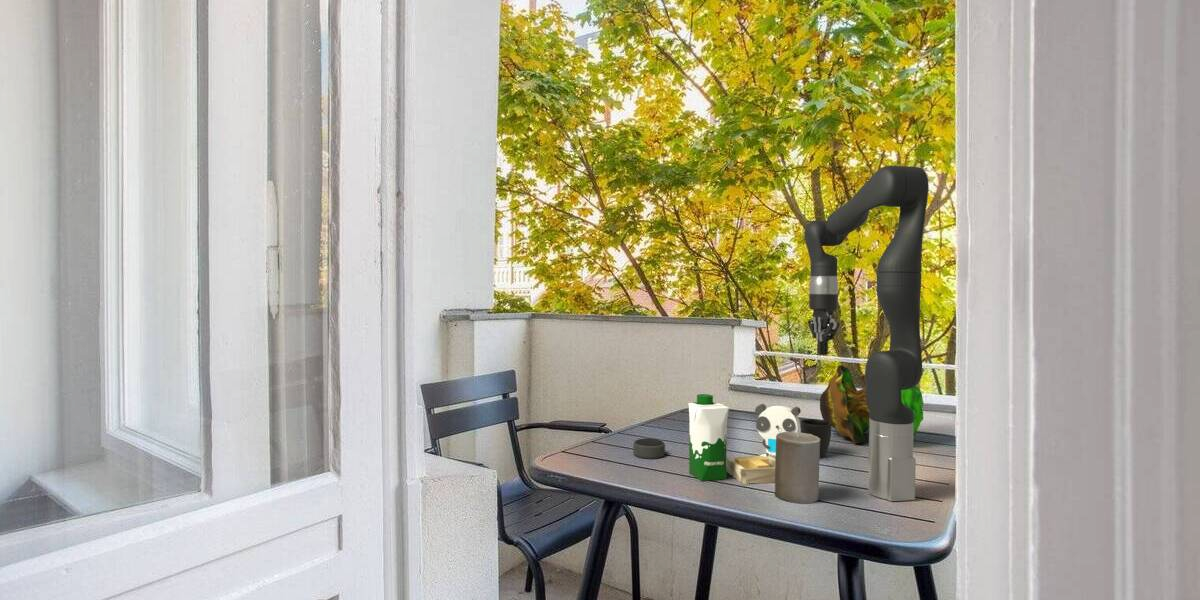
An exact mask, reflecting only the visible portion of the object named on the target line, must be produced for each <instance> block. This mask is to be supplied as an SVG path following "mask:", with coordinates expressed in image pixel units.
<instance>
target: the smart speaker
mask: <svg viewBox="0 0 1200 600" xmlns="http://www.w3.org/2000/svg"><path fill="white" fill-rule="evenodd" d="M632 446H633V450H632V451H633V455H634V456H635V457H637V458H641V459H645V460H655V459H660V458H663V456H665V453H666V444H665V442H664V441H663V440H661V439H657V438H639V439H636V440H635V441H633V445H632Z"/></svg>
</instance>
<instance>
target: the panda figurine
mask: <svg viewBox="0 0 1200 600" xmlns="http://www.w3.org/2000/svg"><path fill="white" fill-rule="evenodd" d="M801 411H802V410H801V408H800V407H799V406H794V407H793V408H790V407H787V406H783V405H773V406H769V407H767V406H766V404H765V403H761V404H759V405H758V406H756V407H755V409H754V412H755V414H756V415H758V418H757V419H756V423H755V426H756V427H755V428H756V430H757V432H758V433H759V436H761V438H762V439H763V440H762V443H761V444H762V445H763V447H764V448H765V454H764V453H763V454H760V455H759V456H764V457H766V456H771V457H772V458H774V459H775V458H776V435H777V434H778V433H782V432H797V431H798V432H799V431H800V430H801V425H800V418H799V415H800V414H801Z"/></svg>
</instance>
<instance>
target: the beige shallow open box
mask: <svg viewBox="0 0 1200 600" xmlns="http://www.w3.org/2000/svg"><path fill="white" fill-rule="evenodd" d="M766 458H768V459H769V467H768V468H746V469H745V468H743V467H742V466H741V465H739V464H738V463H737V462H735V461H734V459H733V458H731V457H726V469H727V474H729V475H730V476H731V475H732V477H733V478H734V479H735V478H736V479H737V482H739V481H740V482H741V483H742V484H741V483H740V482H739V483H740V484H741V485H752V484H751V483H760V484H775V459H774V458H772V457H771V456H766ZM736 479H735V480H736ZM749 483H750V484H749Z"/></svg>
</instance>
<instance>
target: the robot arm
mask: <svg viewBox="0 0 1200 600" xmlns="http://www.w3.org/2000/svg"><path fill="white" fill-rule="evenodd" d="M928 177H929V176H928V174H927V172H926V171H925V170H924V169H923V168H922V167H918V166H907V165H905V166H904V165H886V166H883V167H880V168H879V169H878V170H877V171H876V172H874V173H873V174H872V175H871V176H870V178H869V179H868V180H867V181H866V182H865V183H864V184H863V185H862V186H861V187H860V188H859V189H858V191H857V192H856V193H855V194H854V195H853V196H852V197H851V198H850V199H849V200H848V201H846V202H845V203H844V204H843V205H841V206H840V207H838V208H837V209H835V210H834V211H832V212H831V213H830V214H829V215H828V217H827V219H826V220H812V221H811V220H810V221H809V222H808V223H807V225H805V229H804V234H803V235H804V236H803V237H804V241H805V242H804V243H805V244H806V248H807V251H808V257H809V261H810V274H809V275H810V277H809V283H808V284H809V285H808V286H809V290H808V292H809V293H808V295H809V296H808V309H809V310H810V311H811V310H812V311H813V313H812V319H811V320H810V319H809V320H808V321H807V324H808V326H809V327H808V328H809V329H810V333H811V335H812V338H813V339H815V340H816V342H817V354H818V355H819V356H828V353H829V342H831V341H833V340H834V338H835V336H836V334H837V331H838V329H839V327H840V322H839V321H838V322H836V321H835V313H834V312H835V311H836V310H837V311H838V307H839V304H838V303H839V280H838V259H837V256H835V255H833V254H829V253H827V252H826V251H825V250H824V247H836V246H837V247H838V246H840V245H841V244H843V243H844V241H845V240H846V239H847V237H848V236H849V234H851V233H852V232H855V230H857V229H859V228H860V227H861V226H863V225H864V224H865V223H866V221H867V220H868V218H869V215H870V210H873V209H875V208H878V207H887V208H899V217H898V225H897V227H896V231H895V233H894V235H893V237H892V239H891V241H890V242H889V244H888V245H887V247H886V248H885V249H884V251H883V253H882V255H880V258H879V260H878V263H877V266H876V285H875V286H876V295H877V296H876V297H877V298H878V302H879V305H880V307H881V309H882V312H883V314H884V315H885V318H886V320H887V323H888V325H889V337H890V338H889V340H890V341H889V350H879V351H875V352H873V353H872V354H871V355H870V356H869V357H868V358H867V361H866V363H865V368H864V369H865V371H864V381H865V382H864V387H865V391H866V404H867V407H868V410H869V428H868V429H869V430H868V469H867V470H868V471H867V472H868V473H867V474H868V478H867V479H868V483H867V485H868V486H867V488H868V489H867V491H868V493H869V494H870V495H872V496H874V497H877V498H880V499H884V500H888V501H890V502H896V501H897V502H900V501H901V502H902V501H903V502H904V501H915V500H916V465H917V464H916V463H917V461H916V460H917V459H916V458H915V457H914V437H913V434H914V412H913V410H912V409H911V408H909V407H907V406H905V405H904V404H903V403H902V397H901V390H906V389H911V388H913V387H915V386H917V385H918V384H919V383H920V381H921V379H922V375H923V357H922V356H923V355H922V343H921V330H920V329H921V326H920V325H921V291H922V275H923V274H922V273H923V271H922V269H923V268H922V258H923V257H922V256H923V255H922V254H923V237H924V227H925V219H926V212H927V205H928V198H929V188H930V187H929V178H928Z"/></svg>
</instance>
